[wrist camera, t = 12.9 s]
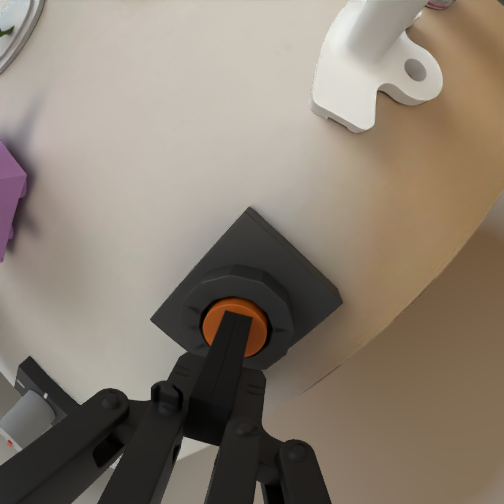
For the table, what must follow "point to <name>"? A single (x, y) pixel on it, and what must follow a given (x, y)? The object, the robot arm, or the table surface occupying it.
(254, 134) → the table surface
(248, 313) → the button
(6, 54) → the monster figurine
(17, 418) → the temp dial
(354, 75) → the joystick
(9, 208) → the teapot
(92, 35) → the table surface
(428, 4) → the pill bottle
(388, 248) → the table surface
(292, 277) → the switch block
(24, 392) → the dial panel
